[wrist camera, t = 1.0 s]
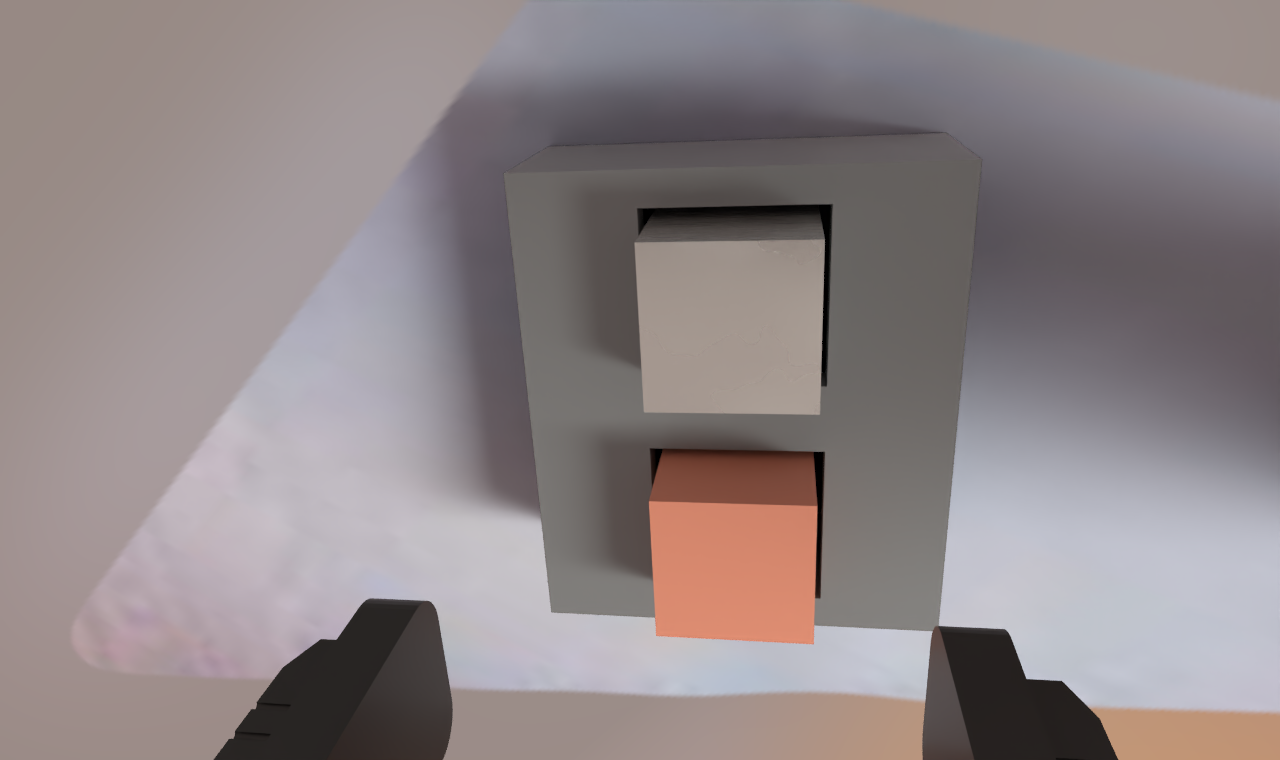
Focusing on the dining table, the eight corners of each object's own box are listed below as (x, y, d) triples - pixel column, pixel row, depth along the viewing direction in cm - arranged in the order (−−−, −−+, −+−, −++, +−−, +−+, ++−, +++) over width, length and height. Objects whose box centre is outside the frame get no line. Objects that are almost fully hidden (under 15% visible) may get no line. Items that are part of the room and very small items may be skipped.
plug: (817, 200, 24) (825, 239, 20) (813, 350, 26) (820, 414, 22) (658, 204, 25) (634, 242, 21) (664, 350, 27) (643, 412, 23)
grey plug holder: (946, 132, 26) (982, 159, 21) (914, 540, 31) (938, 631, 27) (548, 146, 28) (503, 173, 23) (583, 529, 33) (551, 612, 29)
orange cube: (811, 430, 27) (817, 506, 23) (809, 553, 29) (813, 644, 24) (668, 427, 28) (649, 501, 24) (673, 547, 29) (656, 635, 25)
